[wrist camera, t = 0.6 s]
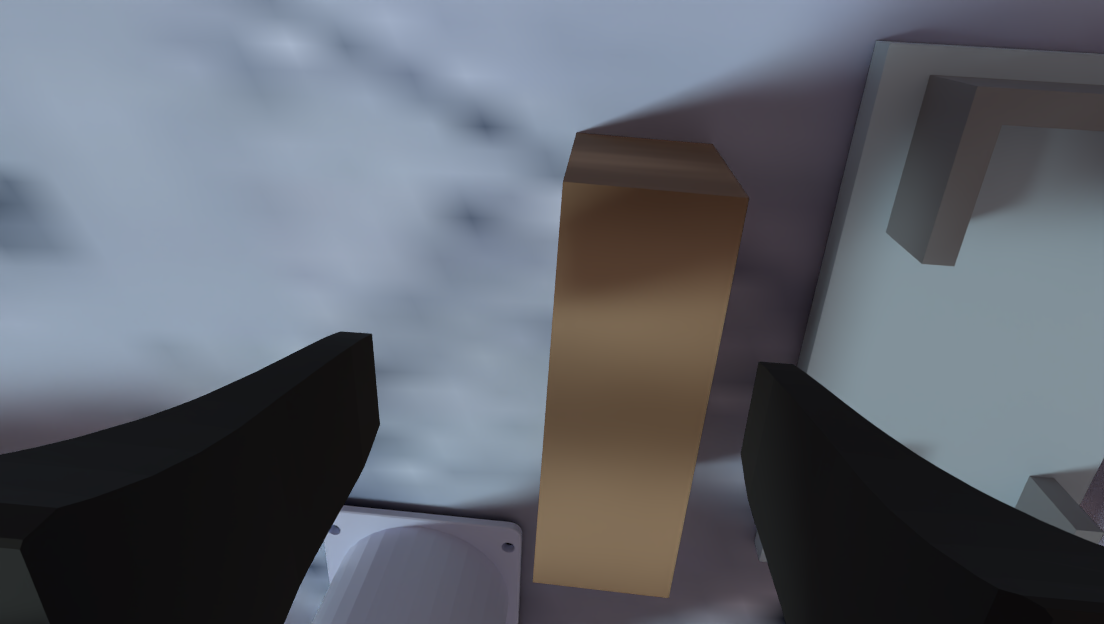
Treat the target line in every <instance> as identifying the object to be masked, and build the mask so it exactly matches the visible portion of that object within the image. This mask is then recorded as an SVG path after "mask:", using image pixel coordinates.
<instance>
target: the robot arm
mask: <svg viewBox="0 0 1104 624" xmlns="http://www.w3.org/2000/svg"><path fill="white" fill-rule="evenodd" d="M379 425H380V421H379V409H378V398H377V386H376V375H375V364H374V352H373V341H372V334H367V333H354V332H338V333H335V334H332V335H330V336H328V337H325V338H323V339H321V340H319V341H317V342H315V343H313V344H311V345H309V346H307V347H305V348H303V349H301V350H299V351H297V352H295V353H293V354H291V355H289V356H287V357H285V358H283V359H281V360H279V361H277V362H275V363H273V364H271V365H269V366H267V367H265V368H263V369H261V370H259V371H257V372H255V373H253V374H250V375H248V376H246V377H244V378H242V379H239V380H237V381H235V382H233V383H231V384H228V385H226V386H224V387H222V388H220V389H217V390H215V391H213V392H211V393H209V394H206V395H204V396H202V397H199V398H197V399H194V400H192V401H189V402H187V403H184V404H181V405H179V406H176V407H173V408H171V409H168V410H165V411H162V412H159V413H157V414H154V415H151V416H148V417H145V418H142V419H139V420H136V421H133V422H129V423H126V424H122V425H119V426H115V427H112V428H108V429H105V430H102V431H98V432H95V433H91V434H88V435H84V436H81V437H77V438H73V439H69V440H65V441H61V442H57V443H53V444H49V445H44V446H40V447H36V448H31V449H26V450H21V451H17V452H12V453H7V454H2V455H0V624H284V622H285V620H286V617H287V615H288V613H289V610H290V608H291V606H292V603H293V601H294V598H295V596H296V594H297V591H298V589H299V587H300V585H301V583H302V581H303V579H304V577H305V575H306V573H307V571H308V569H309V567H310V565H311V563H312V561H313V559H314V557H315V556H316V554H317V552H318V550H319V548H320V547H321V545H322V543H323V541H324V544H325V551H326V559H327V566H328V574H329V582H330V586H329V588H328V590H327V592H326V594H325V596H324V598H323V601H322V603H321V605H320V607H319V609H318V611H317V613H316V615H315V617H314V619H313V621H312V623H311V624H518V623H519V599H520V574H521V550H522V530H521V528H520V527H519V526H518V525H517V524H515V523H512V522H505V521H495V520H485V519H475V518H465V517H455V516H445V515H435V514H425V513H415V512H405V511H395V510H385V509H375V508H365V507H355V506H345V505H344V504H345V502H346V500H347V498H348V496H349V494H350V493H351V491H352V489H353V487H354V485H355V483H356V482H357V480H358V478H359V476H360V474H361V472H362V470H363V468H364V466H365V463H366V461H367V458H368V456H369V453H370V451H371V448H372V445H373V442H374V440H375V437H376V434H377V431H378V428H379ZM741 458H742V465H743V472H744V479H745V484H746V490H747V496H748V501H749V505H750V508H751V511H752V515H753V518H754V521H755V525H756V528H757V531H758V534H759V538H760V541H761V544H762V547H763V550H764V553H765V557H766V560H767V563H768V566H769V569H770V572H771V576H772V579H773V582H774V585H775V588H776V591H777V595H778V598H779V601H780V604H781V607H782V611H783V615H784V618H785V622H786V624H1104V546H1101V545H1099V544H1096V543H1093V542H1091V541H1088V540H1086V539H1083V538H1081V537H1078V536H1076V535H1073V534H1071V533H1069V532H1066V531H1064V530H1062V529H1060V528H1057V527H1055V526H1053V525H1050V524H1048V523H1046V522H1043V521H1041V520H1039V519H1037V518H1035V517H1033V516H1031V515H1028V514H1026V513H1024V512H1022V511H1020V510H1018V509H1016V508H1014V507H1012V506H1010V505H1008V504H1005V503H1003V502H1001V501H999V500H997V499H995V498H993V497H991V496H989V495H987V494H985V493H983V492H982V491H980V490H978V489H976V488H974V487H972V486H970V485H969V484H967V483H965V482H963V481H962V480H960V479H958V478H956V477H954V476H953V475H951V474H949V473H947V472H946V471H944V470H942V469H940V468H939V467H937V466H935V465H934V464H932V463H930V462H929V461H927V460H925V459H924V458H922V457H921V456H919V455H917V454H916V453H914V452H913V451H911V450H910V449H908V448H907V447H906V446H904V445H903V444H901V443H900V442H898V441H897V440H895V439H894V438H892V437H891V436H889V435H888V434H886V433H885V432H883V431H882V430H881V429H879V428H878V427H876V426H875V425H874V424H872V423H871V422H870V421H868V420H867V419H865V418H864V417H863V416H861V415H860V414H859V413H857V412H856V411H855V410H854V409H852V408H851V407H850V406H848V405H847V404H846V403H844V402H843V401H842V400H840V399H839V398H838V397H837V396H835V395H834V394H833V393H831V392H830V391H829V390H828V389H826V388H825V387H824V386H823V385H821V384H820V383H819V382H817V381H816V380H815V379H813V378H812V377H811V376H809V375H808V374H807V373H805V372H804V371H803V370H801V369H800V368H798V367H796V366H795V365H793V364H781V363H768V362H759V363H758V368H757V374H756V379H755V384H754V389H753V394H752V399H751V404H750V409H749V414H748V420H747V425H746V430H745V435H744V440H743V445H742V450H741ZM334 525H336V526H338V527H339V528H337V527H335V526H334ZM505 543H511V544H513V545H507V544H505Z"/></svg>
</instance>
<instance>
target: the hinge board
mask: <svg viewBox="0 0 1104 624" xmlns="http://www.w3.org/2000/svg"><path fill="white" fill-rule="evenodd" d="M797 367H798V368H800V369H801V370H803V371H804V372H805V373H807V374H808V375H809V376H811V377H812V378H813V379H815V380H816V381H817V382H819V383H820V384H821V385H823V386H824V387H825V388H826V389H828V390H829V391H830V392H831V393H833V394H834V395H835V396H837V397H838V398H839V399H840V400H842V401H843V402H844V403H846V404H847V405H848V406H850V407H851V408H852V409H854V410H855V411H856V412H857V413H859V414H860V415H861V416H863V417H864V418H865V419H867V420H868V421H870V422H871V423H872V424H874V425H875V426H876V427H878V428H879V429H881V430H882V431H883V432H885V433H886V434H888V435H889V436H891V437H892V438H894V439H895V440H897V441H898V442H900V443H901V444H903V445H904V446H906V447H907V448H908V449H910V450H911V451H913V452H914V453H916V454H917V455H919V456H921V457H922V458H924V459H925V460H927V461H929V462H930V463H932V464H934V465H935V466H937V467H939V468H940V469H942V470H944V471H946V472H947V473H949V474H951V475H953V476H954V477H956V478H958V479H960V480H962V481H963V482H965V483H967V484H969V485H970V486H972V487H974V488H976V489H978V490H980V491H982V492H983V493H985V494H987V495H989V496H991V497H993V498H995V499H997V500H999V501H1001V502H1003V503H1005V504H1008V505H1010V506H1012V507H1014V508H1016V509H1018V510H1020V511H1022V512H1024V513H1026V514H1028V515H1031V516H1033V517H1035V518H1037V519H1039V520H1041V521H1043V522H1046V523H1048V524H1050V525H1053V526H1055V527H1057V528H1060V529H1062V530H1064V531H1066V532H1069V533H1071V534H1073V535H1076V536H1078V537H1081V538H1083V539H1086V540H1088V541H1091V542H1093V543H1096V544H1098V543H1099V541H1100V539H1101V538H1102V536H1103V534H1104V532H1103V531H1102V530H1101V529H1100V527H1099V526H1098V525H1097V524H1096V523H1095V522H1094V521H1093V520H1092V519H1091V518H1090V517H1089V515H1088V514H1087V513H1086V512H1085V511H1084V510H1083V509H1082V508H1081V507H1080V506H1079V505H1080V504H1081V502H1082V500H1083V498H1084V496H1085V494H1086V492H1087V490H1088V488H1089V486H1090V484H1091V482H1092V480H1093V478H1094V476H1095V474H1096V472H1097V470H1098V468H1099V466H1100V464H1101V462H1102V460H1103V458H1104V54H1098V53H1081V52H1063V51H1046V50H1029V49H1012V48H995V47H977V46H960V45H943V44H926V43H909V42H891V41H876V43H875V47H874V51H873V55H872V59H871V64H870V68H869V72H868V76H867V80H866V84H865V88H864V92H863V97H862V101H861V105H860V109H859V113H858V117H857V121H856V125H855V129H854V134H853V138H852V142H851V146H850V150H849V154H848V158H847V162H846V166H845V171H844V175H843V179H842V183H841V187H840V191H839V195H838V199H837V203H836V208H835V212H834V216H833V220H832V224H831V228H830V232H829V236H828V240H827V245H826V249H825V253H824V257H823V261H822V265H821V269H820V273H819V277H818V282H817V286H816V290H815V294H814V298H813V302H812V306H811V310H810V314H809V319H808V323H807V327H806V331H805V335H804V339H803V343H802V347H801V351H800V356H799V360H798V364H797ZM754 543H755V547H756V551H757V554H758V558H759V562H767V560H766V557H765V553H764V550H763V547H762V544H761V541H760V538H759V534H758V531H757V532H756V537H755V541H754Z"/></svg>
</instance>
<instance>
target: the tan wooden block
mask: <svg viewBox="0 0 1104 624" xmlns="http://www.w3.org/2000/svg"><path fill="white" fill-rule="evenodd" d="M748 201H749V197H748V196H747V194H746V193H745V191H744V190H743V188H742V187H741V185H740V184H739V182H738V181H737V179H736V178H735V176H734V175H733V174H732V172H731V171H730V169H729V168H728V166H727V165H726V163H725V162H724V160H723V159H722V157H721V156H720V154H719V153H718V151H717V150H716V149H715V147H714V146H713V144H705V143H693V142H682V141H670V140H658V139H646V138H634V137H623V136H611V135H599V134H587V133H576V137H575V140H574V144H573V147H572V151H571V155H570V158H569V162H568V166H567V169H566V173H565V176H564V180H563V189H562V202H561V215H560V228H559V241H558V255H557V268H556V281H555V294H554V307H553V321H552V334H551V347H550V360H549V373H548V387H547V400H546V413H545V426H544V439H543V452H542V466H541V479H540V492H539V505H538V518H537V532H536V545H535V558H534V571H533V582H535V583H543V584H552V585H561V586H569V587H578V588H586V589H595V590H603V591H612V592H620V593H629V594H638V595H646V596H655V597H663V598H669V594H670V589H671V584H672V579H673V574H674V569H675V564H676V559H677V554H678V549H679V544H680V539H681V534H682V529H683V524H684V519H685V514H686V509H687V504H688V499H689V494H690V489H691V485H692V480H693V475H694V470H695V465H696V460H697V455H698V450H699V445H700V440H701V435H702V430H703V425H704V420H705V415H706V410H707V405H708V400H709V395H710V390H711V385H712V380H713V375H714V370H715V365H716V360H717V355H718V350H719V345H720V341H721V336H722V331H723V326H724V321H725V316H726V311H727V306H728V301H729V296H730V291H731V286H732V281H733V276H734V271H735V266H736V261H737V256H738V251H739V246H740V241H741V236H742V231H743V226H744V221H745V216H746V211H747V206H748Z"/></svg>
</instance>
